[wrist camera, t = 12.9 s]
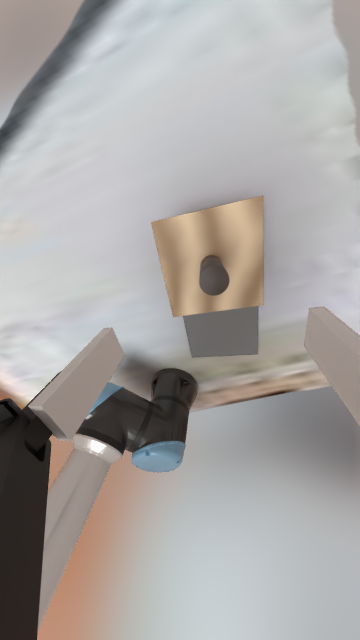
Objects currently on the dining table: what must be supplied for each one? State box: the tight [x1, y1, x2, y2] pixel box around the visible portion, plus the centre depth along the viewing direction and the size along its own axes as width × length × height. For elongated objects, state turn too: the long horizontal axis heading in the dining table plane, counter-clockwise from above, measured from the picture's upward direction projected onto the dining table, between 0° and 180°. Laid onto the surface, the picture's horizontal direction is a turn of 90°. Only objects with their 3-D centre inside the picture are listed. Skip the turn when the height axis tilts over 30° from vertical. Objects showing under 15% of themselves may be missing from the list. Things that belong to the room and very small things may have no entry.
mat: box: [183, 306, 258, 357], centre depth 47 cm, size 18×18×1 cm
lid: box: [151, 196, 264, 317], centre depth 24 cm, size 15×15×10 cm
